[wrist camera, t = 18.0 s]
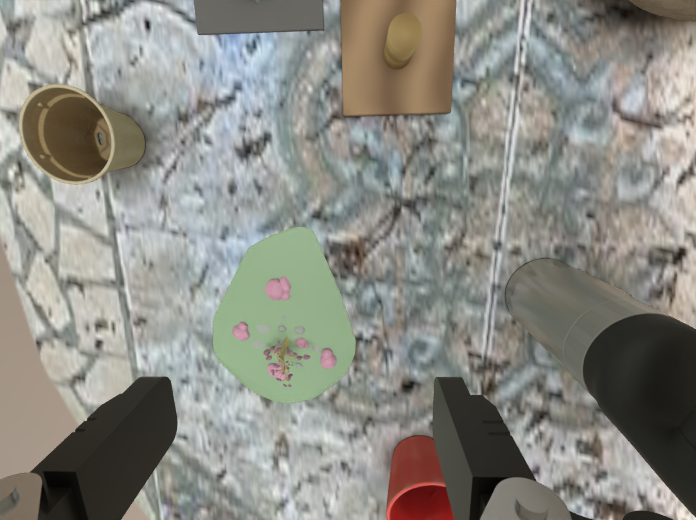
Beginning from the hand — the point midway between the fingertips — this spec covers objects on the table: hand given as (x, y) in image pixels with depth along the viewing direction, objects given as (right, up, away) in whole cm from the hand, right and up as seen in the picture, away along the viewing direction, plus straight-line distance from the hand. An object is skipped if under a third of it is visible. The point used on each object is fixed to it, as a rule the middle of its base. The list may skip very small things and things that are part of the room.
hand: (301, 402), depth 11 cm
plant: (-7, -3, +39) cm, 40 cm away
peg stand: (+7, +27, +30) cm, 41 cm away
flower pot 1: (-26, +19, +33) cm, 46 cm away
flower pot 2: (+12, -25, +44) cm, 52 cm away
